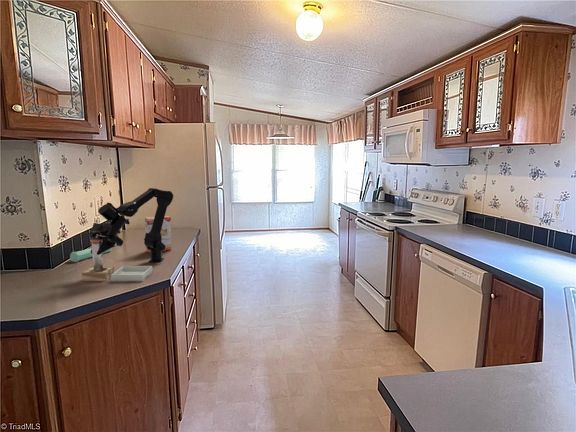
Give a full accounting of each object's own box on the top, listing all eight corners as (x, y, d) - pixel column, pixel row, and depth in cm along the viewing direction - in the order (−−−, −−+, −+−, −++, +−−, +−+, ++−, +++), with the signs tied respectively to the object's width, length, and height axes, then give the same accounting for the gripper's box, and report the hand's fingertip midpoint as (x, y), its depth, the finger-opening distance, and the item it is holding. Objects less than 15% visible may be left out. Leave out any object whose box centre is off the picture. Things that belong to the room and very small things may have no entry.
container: (107, 241, 211) (71, 250, 187) (114, 245, 210) (79, 255, 186) (104, 249, 212) (68, 259, 188) (112, 254, 211) (77, 264, 187)
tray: (123, 271, 172) (123, 265, 171) (152, 271, 173) (152, 265, 172) (111, 281, 158) (110, 274, 157) (143, 281, 159) (142, 274, 158)
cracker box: (148, 253, 207) (146, 218, 204) (145, 251, 212) (144, 217, 209) (172, 250, 215) (170, 216, 212) (168, 248, 220) (167, 215, 217)
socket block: (92, 273, 168) (92, 266, 167) (114, 273, 168) (114, 266, 168) (82, 280, 158) (81, 273, 157) (105, 280, 159) (104, 273, 158)
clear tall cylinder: (95, 267, 165) (93, 238, 163) (106, 267, 165) (104, 238, 163) (90, 270, 160) (88, 240, 158) (101, 270, 160) (99, 240, 158)
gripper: (90, 214, 167) (68, 241, 159) (115, 217, 158) (94, 246, 150) (107, 228, 175) (87, 254, 167) (131, 232, 166) (112, 260, 158)
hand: (94, 253), depth 160 cm, fingers closed on clear tall cylinder, 4 cm apart
